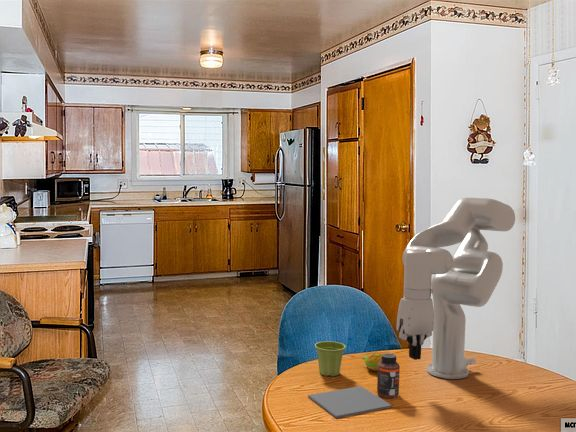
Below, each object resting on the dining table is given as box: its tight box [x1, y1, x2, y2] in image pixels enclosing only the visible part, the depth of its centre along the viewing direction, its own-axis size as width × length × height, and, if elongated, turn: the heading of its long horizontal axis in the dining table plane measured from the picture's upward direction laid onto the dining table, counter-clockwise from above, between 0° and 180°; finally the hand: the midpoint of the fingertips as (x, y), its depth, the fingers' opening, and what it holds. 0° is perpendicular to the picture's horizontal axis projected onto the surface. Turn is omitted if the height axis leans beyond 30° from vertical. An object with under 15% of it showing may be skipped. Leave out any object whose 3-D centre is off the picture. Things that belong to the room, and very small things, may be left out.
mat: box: [307, 385, 393, 419], centre depth 156 cm, size 17×15×1 cm
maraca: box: [362, 352, 382, 372], centre depth 183 cm, size 7×10×5 cm
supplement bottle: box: [376, 353, 400, 399], centre depth 161 cm, size 6×6×11 cm
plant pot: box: [314, 340, 347, 377], centre depth 179 cm, size 9×9×9 cm
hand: (414, 358), depth 165 cm, fingers closed
